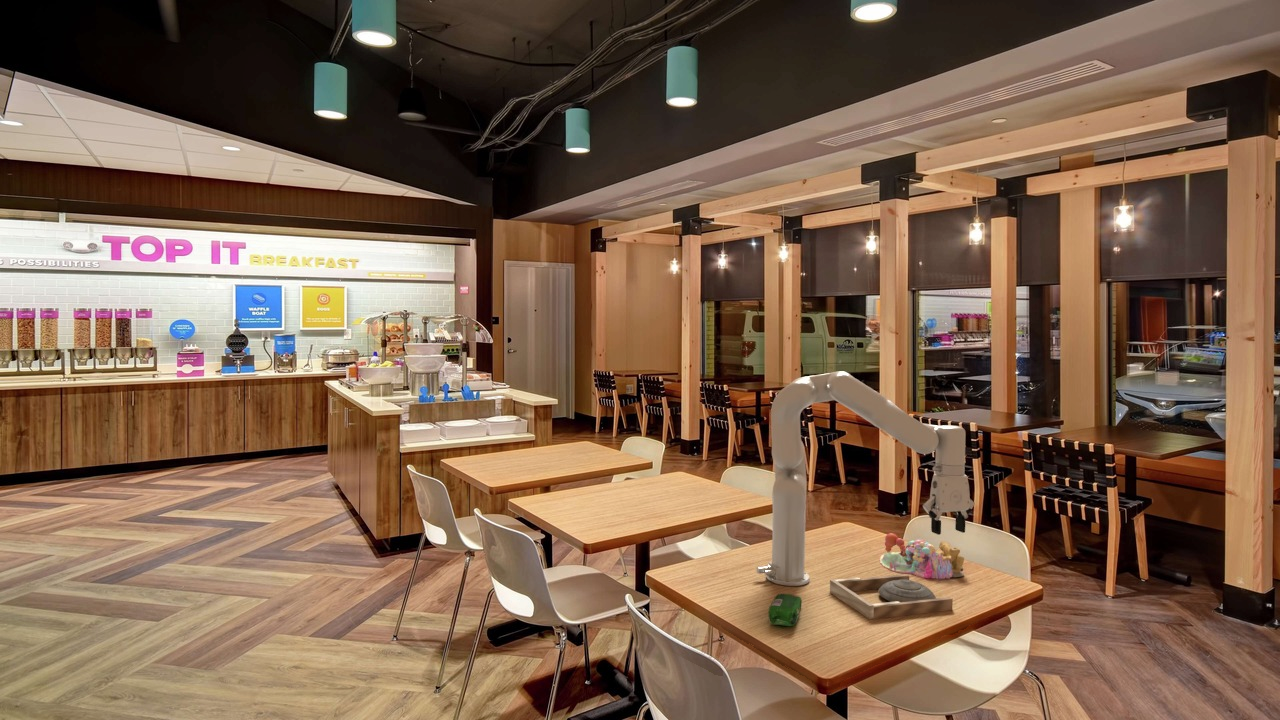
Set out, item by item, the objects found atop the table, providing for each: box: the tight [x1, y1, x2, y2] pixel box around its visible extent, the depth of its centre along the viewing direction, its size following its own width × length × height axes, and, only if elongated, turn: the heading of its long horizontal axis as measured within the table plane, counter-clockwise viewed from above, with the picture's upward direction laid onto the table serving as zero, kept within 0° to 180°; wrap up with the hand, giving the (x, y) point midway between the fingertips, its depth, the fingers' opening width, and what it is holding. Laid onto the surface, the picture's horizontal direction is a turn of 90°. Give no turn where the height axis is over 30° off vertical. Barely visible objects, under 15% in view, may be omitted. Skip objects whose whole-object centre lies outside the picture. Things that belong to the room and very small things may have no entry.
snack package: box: [768, 593, 803, 627], centre depth 179 cm, size 7×16×5 cm, turn 159°
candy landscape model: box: [879, 532, 965, 581], centre depth 221 cm, size 25×24×9 cm
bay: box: [829, 573, 954, 620], centre depth 192 cm, size 25×19×4 cm
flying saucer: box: [877, 579, 937, 602], centre depth 194 cm, size 15×15×6 cm
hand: (948, 531), depth 196 cm, fingers open, 7 cm apart
